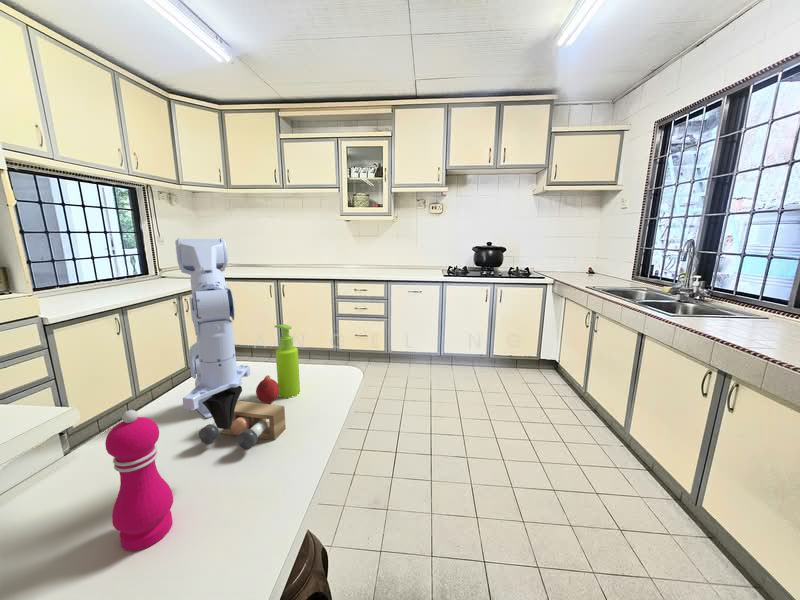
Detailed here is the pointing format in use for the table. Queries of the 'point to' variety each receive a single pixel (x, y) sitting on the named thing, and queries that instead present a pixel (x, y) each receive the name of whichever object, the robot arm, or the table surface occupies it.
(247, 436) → the knob
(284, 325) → the soap dispenser
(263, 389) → the onion
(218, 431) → the knob
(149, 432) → the pepper mill
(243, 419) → the knob middle
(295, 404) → the table surface
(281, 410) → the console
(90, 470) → the table surface
